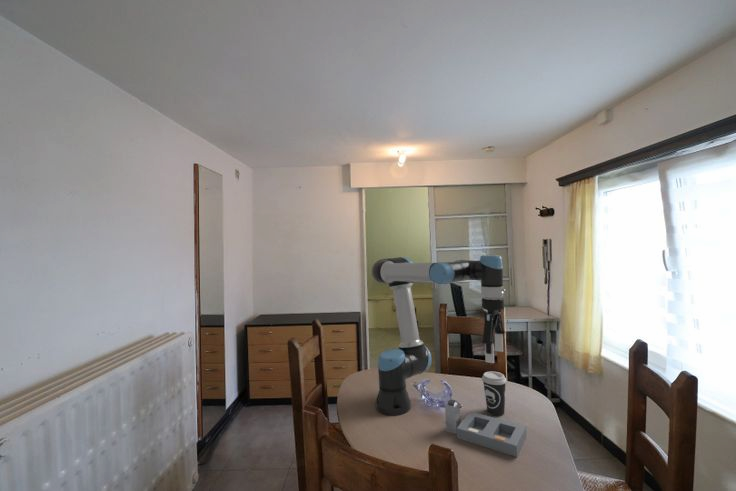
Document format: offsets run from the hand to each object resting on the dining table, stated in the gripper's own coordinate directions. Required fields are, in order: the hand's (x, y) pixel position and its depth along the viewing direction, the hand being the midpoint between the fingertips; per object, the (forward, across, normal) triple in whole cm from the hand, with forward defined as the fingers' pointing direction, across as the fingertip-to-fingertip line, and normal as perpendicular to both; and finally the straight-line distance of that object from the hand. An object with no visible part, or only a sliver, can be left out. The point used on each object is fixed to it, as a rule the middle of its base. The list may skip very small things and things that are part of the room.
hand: (494, 356), depth 120 cm
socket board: (+28, -3, +1) cm, 28 cm away
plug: (+28, -6, +14) cm, 32 cm away
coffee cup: (+28, +16, +4) cm, 33 cm away
